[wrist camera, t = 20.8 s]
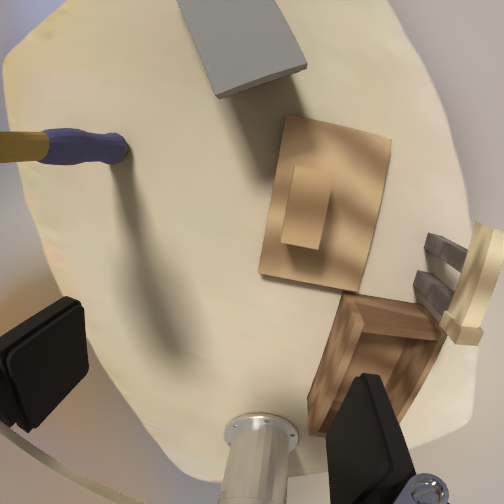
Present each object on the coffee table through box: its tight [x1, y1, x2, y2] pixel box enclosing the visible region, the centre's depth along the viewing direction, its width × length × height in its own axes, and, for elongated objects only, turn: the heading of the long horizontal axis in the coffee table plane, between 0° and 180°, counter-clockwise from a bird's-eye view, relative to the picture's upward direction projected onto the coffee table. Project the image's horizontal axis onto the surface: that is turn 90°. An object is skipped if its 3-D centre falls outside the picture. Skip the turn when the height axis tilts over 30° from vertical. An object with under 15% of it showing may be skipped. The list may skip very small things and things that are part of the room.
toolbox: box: [307, 233, 468, 437], centre depth 32 cm, size 28×12×10 cm, turn 171°
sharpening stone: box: [176, 0, 307, 99], centre depth 23 cm, size 25×8×11 cm, turn 20°
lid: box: [258, 115, 392, 292], centre depth 30 cm, size 18×12×8 cm, turn 170°
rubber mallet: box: [0, 128, 127, 165], centre depth 20 cm, size 12×8×30 cm, turn 14°
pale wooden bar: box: [439, 222, 504, 346], centre depth 22 cm, size 11×3×4 cm, turn 171°
